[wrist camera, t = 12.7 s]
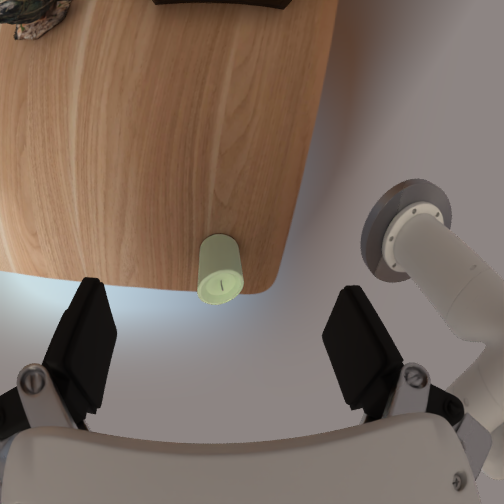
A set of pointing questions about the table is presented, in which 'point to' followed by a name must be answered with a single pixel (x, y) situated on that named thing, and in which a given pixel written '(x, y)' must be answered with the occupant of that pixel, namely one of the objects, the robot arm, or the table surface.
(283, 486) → the robot arm
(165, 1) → the bin
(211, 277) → the candle
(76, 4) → the table surface
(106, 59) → the table surface
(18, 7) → the camouflage figurine
